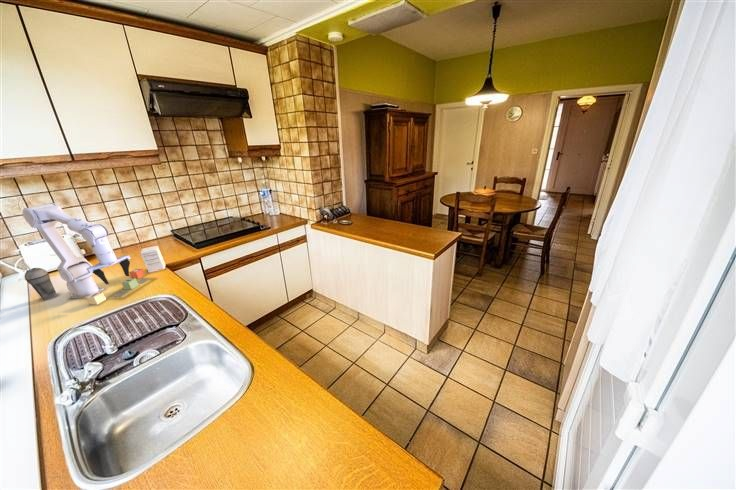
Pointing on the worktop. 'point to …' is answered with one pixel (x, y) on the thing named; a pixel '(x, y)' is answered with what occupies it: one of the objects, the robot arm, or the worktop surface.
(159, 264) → the white packaging box
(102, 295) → the pale yellow cube
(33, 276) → the beverage cup
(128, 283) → the pale green cube
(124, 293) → the word mat
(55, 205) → the robot arm
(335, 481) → the worktop surface
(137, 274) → the coral red cube
